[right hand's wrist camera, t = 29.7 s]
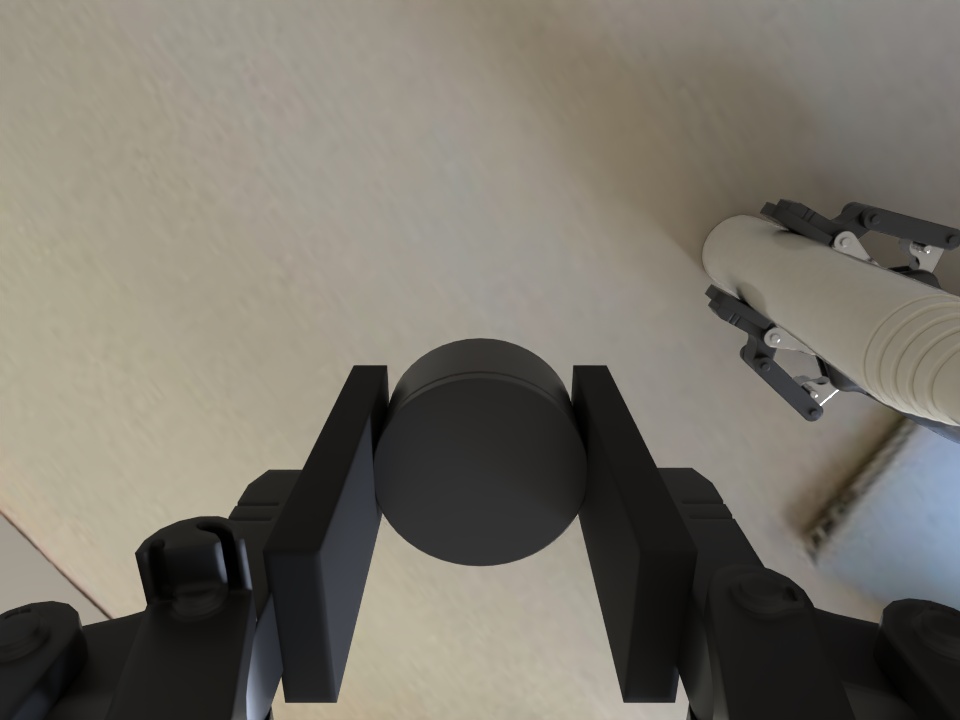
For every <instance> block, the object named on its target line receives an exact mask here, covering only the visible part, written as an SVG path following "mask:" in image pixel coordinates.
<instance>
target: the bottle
mask: <svg viewBox="0 0 960 720" xmlns="http://www.w3.org/2000/svg"><path fill="white" fill-rule="evenodd" d="M702 260H703V265H704V268H705V270H706V272H707V274H708V275H709V276H710V277H711V278H712V279H713V280H714V281H715V282H717V283H718V284H720V285H721V286H722V287H724V288H725V289H726V290H728V291H729V292H731V293H732V294H733V295H735V296H736V297H737V298H739V299H740V300H742V301H743V302H744V303H746V304H747V305H748V306H750V307H751V308H752V309H754V310H755V311H757V312H758V313H759V314H761V315H762V316H763V317H765V318H766V319H768V320H769V321H770V322H772V323H773V324H774V325H776V326H777V327H779V328H780V329H781V330H783V331H784V332H785V333H787V334H788V335H790V336H791V337H792V338H794V339H795V340H796V341H798V342H799V343H801V344H802V345H803V346H805V347H806V348H807V349H809V350H810V351H811V352H813V353H814V354H816V355H817V356H818V357H820V358H821V359H822V360H824V361H825V362H827V363H828V364H829V365H831V366H832V367H833V368H835V369H836V370H838V371H839V372H840V373H842V374H843V375H844V376H846V377H847V378H849V379H850V380H851V381H853V382H854V383H855V384H857V385H858V386H860V387H861V388H862V389H864V390H865V391H866V392H868V393H869V394H871V395H872V396H873V397H875V398H876V399H877V400H879V401H881V402H882V403H884V404H886V405H889V406H892V407H893V408H895V409H897V410H899V411H902V412H905V413H910V414H913V415H916V416H920V417H925V418H928V419H931V420H934V421H940V422H943V423H946V424H949V425H955V426H960V297H958V296H956V295H953V294H950V293H948V292H945V291H943V290H940V289H938V288H935V287H933V286H930V285H928V284H925V283H922V282H920V281H917V280H915V279H912V278H910V277H907V276H905V275H902V274H899V273H897V272H894V271H892V270H889V269H887V268H884V267H882V266H879V265H876V264H874V263H871V262H869V261H866V260H864V259H861V258H859V257H856V256H854V255H851V254H848V253H846V252H843V251H841V250H838V249H836V248H833V247H831V246H828V245H825V244H823V243H820V242H818V241H815V240H813V239H810V238H808V237H805V236H803V235H800V234H797V233H795V232H792V231H790V230H787V229H785V228H782V227H780V226H777V225H774V224H772V223H769V222H767V221H764V220H762V219H759V218H757V217H754V216H749V215H739V216H734V217H731V218H728V219H726V220H724V221H722V222H721V223H720V224H718V225H717V226H716V227H715V228H714V229H713V230H712V231H711V233H710V234H709V235H708V237H707V239H706V241H705V243H704V247H703V252H702Z"/></svg>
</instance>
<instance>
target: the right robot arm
mask: <svg viewBox="0 0 960 720" xmlns="http://www.w3.org/2000/svg"><path fill="white" fill-rule="evenodd" d="M571 404H572V407H573V410H574V413H575V416H576V420H577V423H578V426H579V429H580V432H581V436H582V439H583V442H584V445H585V449H586V452H587V457H588V464H587V479H586V492H585V498H584V501H583V504H582V506H581V508H580V510H579V512H578V516H579V520H580V524H581V528H582V532H583V536H584V540H585V544H586V549H587V553H588V557H589V561H590V565H591V569H592V573H593V578H594V582H595V586H596V590H597V594H598V598H599V602H600V607H601V611H602V615H603V619H604V623H605V627H606V631H607V635H608V640H609V644H610V648H611V652H612V656H613V660H614V664H615V669H616V673H617V677H618V681H619V685H620V689H621V693H622V698H623V702H624V703H675V700H676V693H677V687H678V680H679V674H680V677H681V680H682V683H683V686H684V688H685V691H686V694H687V697H688V700H689V707H688V713H687V719H686V720H960V611H958V610H956V609H954V608H951V607H948V606H945V605H942V604H939V603H936V602H932V601H928V600H919V599H910V598H908V599H903V600H898V601H893V602H891V603H890V604H889V605H888V606H887V607H886V608H885V609H883V612H882V616H881V619H880V623H879V624H878V623H873V622H869V621H864V620H860V619H856V618H851V617H847V616H842V615H838V614H834V613H830V612H827V611H824V610H820V609H817V608H815V607H814V606H813V603H812V602H811V600H810V599H809V597H808V596H807V594H806V593H805V591H804V590H803V589H802V588H801V587H799V586H798V585H797V584H796V583H795V582H793V581H792V580H791V579H790V578H788V577H786V576H784V575H782V574H780V573H777V572H775V571H773V570H771V569H768V568H765V567H764V565H763V564H762V562H761V561H760V559H759V557H758V556H757V554H756V553H755V551H754V549H753V548H752V546H751V544H750V543H749V541H748V540H747V538H746V536H745V535H744V533H743V532H742V530H741V528H740V527H739V525H738V524H737V522H736V520H735V519H732V514H731V512H730V511H729V509H728V507H727V506H726V504H723V499H722V498H721V496H720V495H719V493H718V491H717V490H716V488H715V487H714V485H713V483H712V482H710V481H709V480H708V479H706V478H705V477H703V476H702V475H701V474H699V473H698V472H697V471H695V470H694V469H693V468H657V467H656V465H655V462H654V460H653V458H652V456H651V454H650V452H649V450H648V448H647V446H646V444H645V442H644V440H643V438H642V436H641V434H640V432H639V430H638V428H637V426H636V424H635V422H634V420H633V418H632V416H631V414H630V412H629V410H628V408H627V406H626V404H625V402H624V400H623V398H622V396H621V394H620V392H619V390H618V388H617V386H616V384H615V382H614V379H613V377H612V375H611V373H610V371H609V369H608V367H607V365H573V380H572V397H571ZM388 406H389V390H388V373H387V365H354V366H353V368H352V370H351V372H350V374H349V376H348V378H347V380H346V382H345V384H344V386H343V388H342V390H341V392H340V394H339V397H338V399H337V401H336V403H335V405H334V407H333V409H332V411H331V413H330V415H329V417H328V419H327V421H326V423H325V425H324V427H323V429H322V431H321V433H320V435H319V437H318V439H317V441H316V443H315V445H314V447H313V449H312V451H311V453H310V455H309V457H308V459H307V461H306V463H305V465H304V467H303V469H302V470H268V471H267V472H265V473H264V474H263V475H261V476H260V477H258V478H257V479H256V480H254V481H253V482H252V483H250V484H249V485H248V487H247V488H246V490H245V491H244V493H243V495H242V496H241V498H240V499H239V501H238V505H237V506H235V508H234V509H233V511H232V512H231V514H230V516H229V519H227V518H223V517H219V516H201V517H195V518H191V519H186V520H182V521H178V522H176V523H174V524H171V525H169V526H167V527H164V528H162V529H160V530H158V531H157V532H156V533H154V534H153V535H151V536H150V537H149V538H147V539H146V540H144V542H143V543H142V544H141V546H140V547H139V548H138V550H137V551H136V552H135V556H136V560H137V564H138V568H139V572H140V576H141V580H142V585H143V589H144V593H145V597H146V601H147V607H146V609H145V611H142V612H139V613H135V614H132V615H129V616H125V617H121V618H116V619H112V620H107V621H103V622H99V623H94V624H90V625H85V626H82V624H81V621H80V618H79V614H78V612H77V611H76V610H75V609H74V608H73V607H71V606H70V605H69V604H66V603H61V602H55V601H48V602H39V603H31V604H28V605H24V606H21V607H18V608H15V609H12V610H9V611H6V612H5V613H3V614H1V615H0V720H274V719H273V713H272V707H271V704H272V701H273V699H274V696H275V693H276V690H277V687H278V684H279V681H280V679H281V677H282V684H283V691H284V697H285V703H337V699H338V695H339V691H340V687H341V683H342V678H343V674H344V670H345V666H346V662H347V658H348V654H349V650H350V645H351V641H352V637H353V633H354V629H355V625H356V621H357V616H358V612H359V608H360V604H361V600H362V596H363V592H364V587H365V583H366V579H367V575H368V571H369V567H370V563H371V558H372V554H373V550H374V546H375V542H376V538H377V534H378V530H379V525H380V521H381V517H382V513H383V512H382V510H381V508H380V506H379V504H378V502H377V499H376V495H375V487H374V473H373V456H374V452H375V448H376V445H377V442H378V439H379V435H380V432H381V429H382V426H383V422H384V419H385V416H386V413H387V409H388Z"/></svg>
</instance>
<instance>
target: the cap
mask: <svg viewBox="0 0 960 720" xmlns="http://www.w3.org/2000/svg"><path fill="white" fill-rule="evenodd" d="M587 464H588V457H587V452H586V449H585V445H584V442H583V439H582V436H581V432H580V429H579V426H578V423H577V420H576V416H575V413H574V410H573V407H572V404H571V401H570V397H569V394H568V392H567V390H566V388H565V386H564V384H563V382H562V381H561V379H560V378H559V376H558V375H557V373H556V372H555V371H554V370H553V369H552V368H551V367H550V366H549V365H548V364H547V363H546V362H545V361H544V360H542V359H541V358H540V357H539V356H537V355H535V354H534V353H532V352H531V351H529V350H527V349H525V348H523V347H520V346H518V345H515V344H512V343H509V342H506V341H501V340H495V339H484V338H477V339H465V340H460V341H455V342H452V343H449V344H445V345H442V346H440V347H438V348H436V349H434V350H432V351H430V352H429V353H427V354H425V355H424V356H422V357H421V358H420V359H418V360H417V361H416V362H415V363H414V364H413V365H411V367H410V368H409V369H408V370H407V371H406V372H405V373H404V374H403V376H402V377H401V379H400V380H399V382H398V383H397V385H396V387H395V389H394V392H393V394H392V397H391V400H390V403H389V406H388V409H387V413H386V416H385V419H384V422H383V426H382V429H381V432H380V435H379V439H378V442H377V445H376V448H375V452H374V456H373V473H374V487H375V495H376V499H377V502H378V504H379V506H380V508H381V510H382V512H383V514H384V516H385V517H386V519H387V520H388V522H389V523H390V525H391V526H392V527H393V528H394V529H395V530H396V532H397V533H398V534H399V535H400V536H402V537H403V538H404V539H405V540H406V541H407V542H409V543H410V544H411V545H413V546H414V547H416V548H417V549H419V550H421V551H423V552H424V553H426V554H428V555H430V556H433V557H435V558H438V559H440V560H444V561H447V562H451V563H455V564H461V565H467V566H493V565H500V564H506V563H510V562H514V561H517V560H520V559H523V558H525V557H528V556H530V555H533V554H535V553H536V552H538V551H540V550H542V549H544V548H545V547H547V546H548V545H549V544H551V543H552V542H554V541H555V540H556V539H557V538H558V537H559V536H560V535H561V534H563V533H564V531H565V530H566V529H567V528H568V527H569V526H570V524H571V523H572V522H573V520H574V519H575V517H576V515H577V514H578V512H579V510H580V508H581V506H582V504H583V501H584V498H585V492H586V479H587Z"/></svg>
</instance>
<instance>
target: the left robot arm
mask: <svg viewBox="0 0 960 720" xmlns="http://www.w3.org/2000/svg"><path fill="white" fill-rule="evenodd" d="M760 213H761V214H762V215H764V216H766V217H767V218H769V219H771V220H773V221H774V222H776V223H778V224H779V225H781V226H783V227H784V228H786V229H788V230H790V231H792V232H795V233H797V234H800V235H803V236H805V237H808V238H810V239H813V240H815V241H818V242H820V243H823V244H825V245H828V246H831V247H833V248H836V249H838V250H841V251H843V252H846V253H848V254H851V255H854V256H856V257H859V258H861V259H864V260H866V261H869V262H871V263H874V264H876V265H878V263H877V262H876V261H875V260H873V259H872V258H871V257H870V256H869V255H868V254H867V252H866V251H865V249H864V248H863V247H862V245H861V244H860V242H859V241H858V238H860V237H861V236H862V235H864V234H865V233H866V232H867V231H869V230H874V231H877V232H881V233H885V234H889V235H892V236H896V237H900V240H899V244H900V248H901V250H902V251H903V252H904V253H906V254H908V255H909V257H910V264H909V265H908V266H900V267H893V268H887V269H889V270H892V271H894V272H897V273H899V274H902V275H905V276H907V277H910V278H912V279H915V280H917V281H920V282H922V283H925V284H928V285H930V286H933V287H935V288H938V289H940V290H942V288H941V287H940V285H939V283H938V280H937V278H936V277H935V275H934V274H933V273H932V272H933V270H934V269H935V267H936V265H937V263H938V261H939V259H940V257H941V255H942V253H943V251H944V249H945V250H953V249H955V248H957V247H958V246H959V245H960V230H958V229H954V228H951V227H947V226H943V225H939V224H936V223H932V222H928V221H925V220H921V219H917V218H913V217H910V216H906V215H902V214H899V213H895V212H891V211H888V210H884V209H880V208H876V207H872V206H868V205H864V204H860V203H856V202H851V203H849V204H847V205H846V206H845V207H844V208H843V210H842V212H841V214H840V215H839V216H838V217H836V218H835V219H832V220H828V219H826V218H825V217H823V216H821V215H820V214H818V213H816V212H814V211H813V210H811V209H809V208H808V207H806V206H804V205H803V204H801V203H798V202H794V201H791V200H784V199H780V201H779V202H778V204H777V205H775V204H772V203H768V202H767V203H766V204H765V206H764V207H763V209H762V210H761V212H760ZM705 294H706V295H707V296H708V297H709V298H710V299H712V300H711V301H710V303H709V304H708V306H709V307H710V308H711V310H712V311H713V312H714V313H715V314H716V315H718V316H719V317H720V318H721V319H723V320H725V321H727V322H729V323H730V324H732V325H734V326H736V327H738V328H740V329H742V330H743V331H745V332H747V333H748V336H749V337H748V342H747V345H745V346H743V347H742V349H741V351H740V357H741V358H742V359H743V360H744V361H745V362H746V363H747V364H748V365H749V366H750V367H751V368H752V369H753V370H754V371H755V372H756V373H757V374H758V375H759V376H760V377H762V378H763V379H764V380H765V381H766V382H767V383H768V384H769V385H770V386H771V387H772V388H773V389H774V390H775V391H776V392H777V393H778V394H780V395H781V396H782V397H783V398H784V399H785V400H786V401H787V402H788V403H789V404H790V405H791V406H792V407H793V408H794V409H795V410H796V411H798V412H799V413H800V414H801V415H802V416H803V417H804V418H805V419H806V420H808V421H816V420H818V419H819V418H820V417H821V416H822V414H823V408H822V407H821V406H820V405H821V404H823V403H824V402H825V401H826V400H827V399H829V398H830V397H831V396H832V395H833V394H834V393H836V392H837V391H838V390H840V391H845V392H849V391H855V392H860V393H863V394H865V395H867V396H869V397H870V398H872V399H874V400H876V401H878V402H880V403H882V402H881V401H879V400H877V399H876V398H875V397H873V396H872V395H871V394H869V393H868V392H866V391H865V390H864V389H862V388H861V387H860V386H858V385H857V384H855V383H854V382H853V381H851V380H850V379H849V378H847V377H846V376H844V375H843V374H842V373H840V372H839V371H838V370H836V369H835V368H833V367H832V366H831V365H829V364H828V363H827V362H825V361H824V360H822V359H821V358H820V357H818V356H817V355H816V354H814V353H813V352H811V351H810V350H809V349H807V348H806V347H805V346H803V345H802V344H801V343H799V342H798V341H796V340H795V339H794V338H792V337H791V336H790V335H788V334H787V333H785V332H784V331H783V330H781V329H780V328H779V327H777V326H776V325H774V324H773V323H772V322H770V321H769V320H768V319H766V318H765V317H763V316H762V315H761V314H759V313H758V312H757V311H755V310H754V309H752V308H751V307H750V306H748V305H747V304H746V303H744V302H743V301H742V300H740V299H738V298H736V297H734V296H733V295H731V294H729V293H727V292H725V291H723V290H722V289H720V288H718V287H716V286H714V285H712V284H711V285H710V287H709V288H708V289H707V291H706V292H705ZM777 348H783V349H791V350H798V351H801V352H803V353H806V354H811V355H815V356H816V359H817V362H818V365H819V368H820V371H821V374H822V377H820V378H818V379H811V378H809V377H807V376H799V377H798V376H796V377H794V378H793V379H792V378H791V377H790V376H789V375H788V374H787V373H786V372H785V371H784V370H783V369H782V368H781V367H780V366H779V365H778V364H777V363H776V362H775V361H773V358H774V355H775V352H776V349H777ZM882 404H883V405H885V406H887V407H889V408H891V409H893V410H895V411H896V412H898V413H900V414H902V415H904V416H906V417H907V418H909V419H911V420H913V421H915V422H917V423H918V424H920V425H922V426H924V427H926V428H928V429H930V430H932V431H933V432H935V433H937V434H939V435H941V436H943V437H945V438H947V439H949V440H951V441H953V442H956V443H958V444H960V426H955V425H949V424H946V423H943V422H940V421H934V420H931V419H928V418H925V417H920V416H916V415H913V414H910V413H905V412H902V411H899V410H897V409H895V408H893V407H892V406H889V405H886V404H884V403H882Z"/></svg>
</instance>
